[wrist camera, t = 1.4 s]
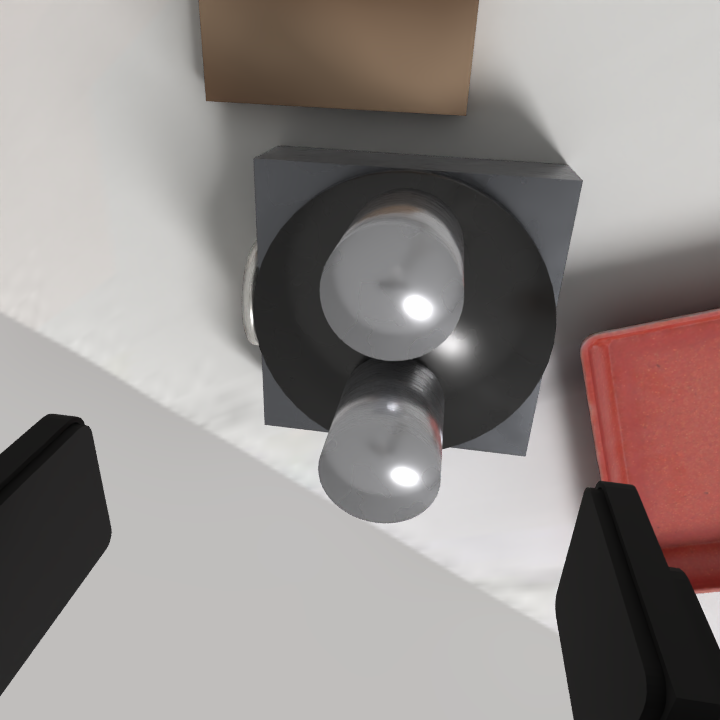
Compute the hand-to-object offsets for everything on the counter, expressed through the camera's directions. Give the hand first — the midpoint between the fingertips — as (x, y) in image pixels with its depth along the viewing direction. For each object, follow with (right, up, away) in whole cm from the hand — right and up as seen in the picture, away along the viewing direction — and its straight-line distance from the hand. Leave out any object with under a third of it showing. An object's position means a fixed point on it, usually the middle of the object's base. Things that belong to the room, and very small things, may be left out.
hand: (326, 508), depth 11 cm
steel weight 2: (+2, +1, +18) cm, 18 cm away
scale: (+3, +7, +21) cm, 22 cm away
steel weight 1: (+3, +8, +15) cm, 17 cm away
